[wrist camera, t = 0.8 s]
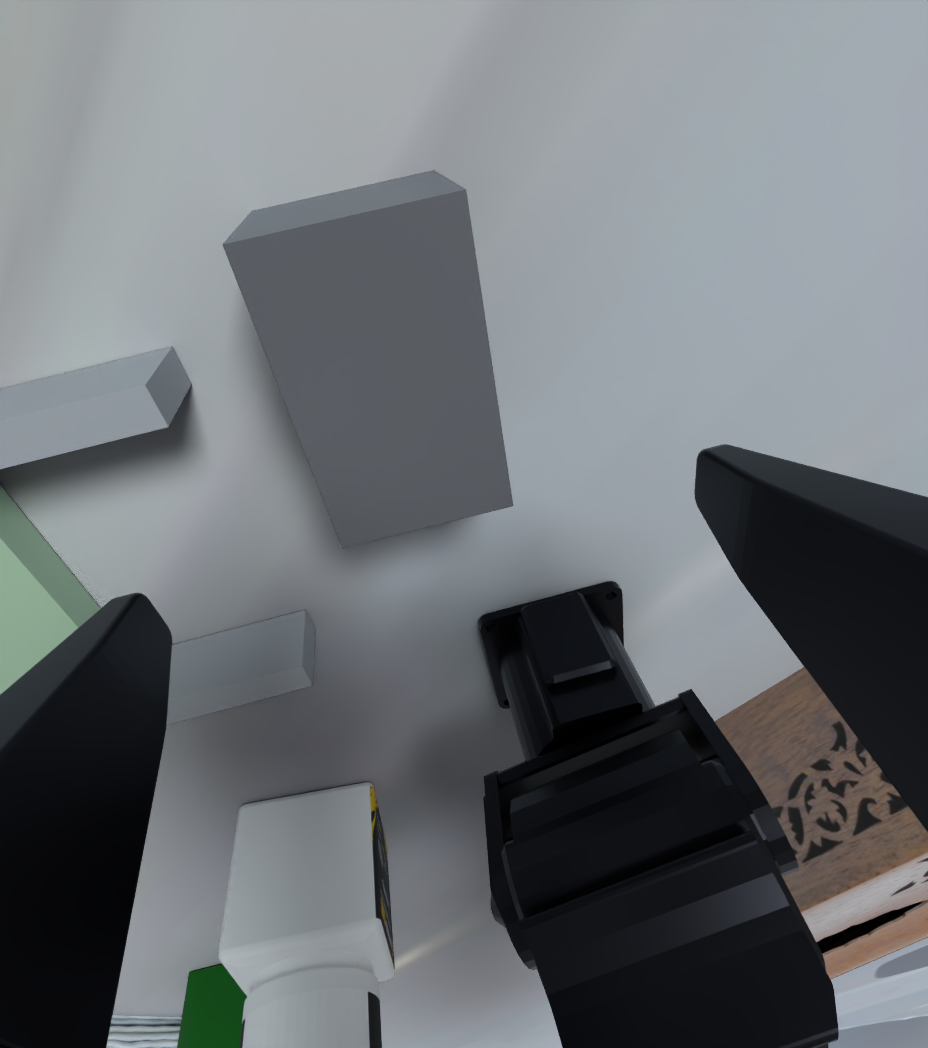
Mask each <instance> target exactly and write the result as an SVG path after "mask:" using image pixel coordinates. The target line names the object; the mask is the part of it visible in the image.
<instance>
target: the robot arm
mask: <svg viewBox="0 0 928 1048" xmlns="http://www.w3.org/2000/svg"><path fill="white" fill-rule="evenodd" d="M695 500H696V504H697V506H698V508H699V510H700V512H701V514H702V515H703V517H704V519H705V520H706V522H707V524H708V526H709V527H710V529H711V531H712V533H713V534H714V536H715V538H716V540H717V541H718V543H719V545H720V547H721V548H722V550H723V552H724V554H725V555H726V557H727V559H728V561H729V562H730V564H731V566H732V568H733V569H734V571H735V572H736V574H737V576H738V577H739V579H740V580H741V582H742V583H743V585H744V586H745V587H746V589H747V590H748V592H749V593H750V594H751V596H752V597H753V598H754V600H755V601H756V602H757V604H758V605H759V606H760V608H761V609H762V610H763V612H764V613H765V614H766V616H767V617H768V618H769V620H770V621H771V622H772V624H773V625H774V626H775V628H776V629H777V631H778V632H779V633H780V635H781V636H782V637H783V639H784V640H785V641H786V643H787V644H788V645H789V647H790V648H791V649H792V651H793V652H794V653H795V655H796V656H797V657H798V659H799V660H800V661H801V663H802V664H803V665H804V667H805V668H806V669H807V671H808V672H809V673H810V675H811V676H812V678H813V679H814V680H815V682H816V683H817V684H818V686H819V687H820V688H821V690H822V691H823V692H824V694H825V695H826V696H827V698H828V699H829V700H830V702H831V703H832V704H833V706H834V707H835V708H836V710H837V711H838V712H839V714H840V715H841V716H842V718H843V719H844V721H845V722H846V723H847V725H848V726H849V727H850V729H851V730H852V731H853V733H854V734H855V735H856V737H857V738H858V739H859V741H860V742H861V743H862V745H863V746H864V747H865V749H866V750H867V751H868V753H869V754H870V755H871V757H872V758H873V759H874V761H875V762H876V763H877V765H878V766H879V768H880V769H881V770H882V772H883V773H884V774H885V776H886V777H887V778H888V780H889V781H890V782H891V784H892V785H893V786H894V788H895V789H896V790H897V792H898V793H899V794H900V796H901V797H902V798H903V800H904V801H905V802H906V804H907V805H908V806H909V808H910V809H911V810H912V812H913V813H914V815H915V816H916V817H917V819H918V820H919V821H920V823H921V824H922V825H923V827H924V828H925V829H926V831H927V832H928V497H925V496H921V495H918V494H914V493H910V492H906V491H902V490H898V489H895V488H891V487H887V486H883V485H879V484H876V483H872V482H868V481H864V480H860V479H857V478H853V477H849V476H845V475H841V474H838V473H834V472H830V471H826V470H822V469H819V468H815V467H811V466H807V465H803V464H799V463H796V462H792V461H788V460H784V459H780V458H777V457H773V456H769V455H765V454H761V453H758V452H754V451H750V450H746V449H742V448H739V447H735V446H731V445H727V444H724V445H719V446H715V447H711V448H707V449H703V450H702V451H701V452H700V453H699V454H698V457H697V464H696V478H695ZM609 592H611V593H609ZM608 593H609V594H608ZM489 624H492V625H489ZM479 627H480V631H481V635H482V639H483V643H484V647H485V651H486V655H487V659H488V663H489V667H490V671H491V675H492V679H493V683H494V687H495V691H496V695H497V699H498V703H499V705H500V707H502V708H506V709H507V708H510V709H511V712H512V716H513V719H514V723H515V726H516V730H517V733H518V736H519V740H520V743H521V747H522V750H523V754H524V757H525V762H523V763H520V764H518V765H516V766H513V767H511V768H508V769H506V770H504V771H501V772H499V773H498V772H497V771H495V772H493V773H490V774H488V775H486V776H484V785H485V796H484V812H485V824H486V837H487V850H488V862H489V875H490V887H491V910H492V914H493V916H494V919H495V920H496V921H497V922H498V923H500V924H501V925H503V926H504V927H506V929H507V931H508V934H509V936H510V939H511V941H512V943H513V945H514V947H515V949H516V951H517V953H518V955H519V957H520V958H521V960H522V961H523V963H524V964H525V965H526V966H527V967H528V968H529V969H532V970H535V969H537V970H538V973H539V976H540V978H541V981H542V984H543V986H544V989H545V992H546V995H547V997H548V1000H549V1003H550V1006H551V1009H552V1012H553V1016H554V1019H555V1022H556V1026H557V1029H558V1033H559V1036H560V1040H561V1043H562V1047H563V1048H828V1043H830V1042H833V1041H836V1040H838V1022H837V1013H836V1005H835V996H834V989H833V985H832V982H831V980H830V978H829V976H828V974H827V972H826V966H825V960H824V958H823V955H822V953H821V950H820V948H819V946H818V944H817V942H816V940H815V939H814V937H813V935H812V933H811V931H810V929H809V927H808V925H807V923H806V921H805V919H804V917H803V916H802V914H801V912H800V910H799V908H798V906H797V904H796V902H795V900H794V898H793V896H792V895H791V893H790V891H789V889H788V887H787V885H786V883H785V881H784V879H783V877H782V876H785V875H787V874H790V873H793V872H795V871H798V870H799V866H798V862H797V859H796V857H795V854H794V852H793V849H792V847H791V845H790V843H789V841H788V839H787V837H786V834H785V833H784V831H783V829H782V827H781V825H780V823H779V821H778V819H777V817H776V815H775V814H774V812H773V810H772V808H771V806H770V804H769V803H768V801H767V799H766V798H765V796H764V794H763V792H762V791H761V789H760V787H759V786H758V784H757V783H756V781H755V779H754V778H753V776H752V775H751V773H750V772H749V770H748V769H747V767H746V766H745V764H744V763H743V761H742V760H741V759H740V757H739V756H738V754H737V753H736V751H735V750H734V749H733V747H732V746H731V744H730V743H729V742H728V740H727V739H726V737H725V736H724V734H723V733H722V732H721V730H720V729H719V727H718V726H717V725H716V723H715V722H714V720H713V719H712V717H711V716H710V715H709V713H708V712H707V710H706V709H705V708H704V706H703V705H702V703H701V702H700V700H699V699H698V698H697V696H696V695H695V693H694V692H693V691H692V689H690V690H687V691H685V692H682V693H680V694H678V697H677V698H675V699H672V700H670V701H668V702H665V703H663V704H660V705H658V706H655V704H654V703H653V701H652V699H651V697H650V695H649V693H648V691H647V689H646V688H645V686H644V684H643V682H642V680H641V678H640V676H639V674H638V673H637V671H636V669H635V667H634V665H633V663H632V661H631V660H630V658H629V656H628V654H627V652H626V650H625V648H624V639H623V602H622V590H621V589H620V587H619V585H618V584H617V583H616V582H613V581H610V582H605V583H601V584H597V585H594V586H590V587H586V588H582V589H578V590H575V591H571V592H567V593H563V594H560V595H556V596H552V597H548V598H545V599H541V600H537V601H533V602H530V603H526V604H522V605H518V606H515V607H511V608H507V609H503V610H500V611H496V612H492V613H488V614H486V615H484V616H482V617H481V618H480V620H479ZM171 654H172V636H171V632H170V630H169V628H168V626H167V624H166V623H165V622H164V620H163V619H162V617H161V616H160V615H159V613H158V612H157V610H156V609H155V607H154V606H153V605H152V603H151V602H150V600H149V599H148V598H147V597H146V596H145V595H143V594H141V593H133V594H129V595H125V596H121V597H117V598H114V599H112V600H111V601H109V602H108V603H107V604H106V605H105V606H103V607H102V608H101V609H100V610H99V611H97V612H96V613H95V614H94V615H93V616H92V617H90V618H89V619H88V620H87V621H86V622H85V623H83V624H82V625H81V626H80V627H79V628H78V629H76V630H75V631H74V632H73V633H72V634H71V635H69V636H68V637H67V638H66V639H65V640H64V641H62V642H61V643H60V644H59V645H58V646H57V647H55V648H54V649H53V650H52V651H51V652H50V653H48V654H47V655H46V656H45V657H44V658H42V659H41V660H40V661H39V662H38V663H37V664H35V665H34V666H33V667H32V668H31V669H30V670H28V671H27V672H26V673H25V674H24V675H23V676H21V677H20V678H19V679H18V680H17V681H16V682H14V683H13V684H12V685H11V686H10V687H9V688H7V689H6V690H5V691H4V692H3V693H2V694H0V1048H106V1047H107V1042H108V1036H109V1031H110V1026H111V1020H112V1015H113V1010H114V1004H115V999H116V994H117V988H118V983H119V978H120V972H121V967H122V962H123V957H124V951H125V946H126V941H127V935H128V930H129V925H130V919H131V914H132V909H133V903H134V898H135V893H136V887H137V882H138V877H139V871H140V866H141V861H142V855H143V850H144V845H145V840H146V834H147V829H148V824H149V818H150V813H151V808H152V802H153V797H154V792H155V786H156V781H157V776H158V770H159V765H160V760H161V754H162V749H163V744H164V737H165V731H166V723H167V714H168V699H169V684H170V669H171Z"/></svg>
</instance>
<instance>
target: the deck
mask: <svg viewBox="0 0 928 1048" xmlns="http://www.w3.org/2000/svg"><path fill="white" fill-rule="evenodd" d="M190 386H191V382H190V380H189V378H188V376H187V374H186V372H185V370H184V368H183V366H182V364H181V362H180V360H179V358H178V356H177V354H176V352H175V350H174V348H173V346H172V347H168V348H164V349H160V350H156V351H152V352H148V353H144V354H140V355H136V356H132V357H128V358H123V359H119V360H115V361H111V362H107V363H103V364H99V365H95V366H91V367H87V368H83V369H79V370H75V371H71V372H67V373H63V374H59V375H55V376H51V377H46V378H42V379H38V380H34V381H30V382H26V383H22V384H18V385H14V386H10V387H6V388H2V389H0V469H3V468H7V467H11V466H15V465H19V464H23V463H27V462H31V461H35V460H39V459H43V458H47V457H51V456H55V455H59V454H63V453H67V452H71V451H75V450H79V449H83V448H87V447H91V446H95V445H99V444H103V443H107V442H111V441H115V440H119V439H123V438H127V437H131V436H135V435H139V434H143V433H147V432H151V431H155V430H159V429H163V428H167V427H169V425H170V423H171V421H172V420H173V418H174V416H175V414H176V412H177V410H178V408H179V407H180V405H181V403H182V401H183V399H184V397H185V396H186V394H187V392H188V390H189V388H190ZM100 609H101V608H100V607H99V606H98V604H97V603H96V602H95V601H94V600H93V598H92V597H91V596H90V595H89V593H88V592H87V591H86V590H85V588H84V587H83V586H82V585H81V584H80V582H79V581H78V580H77V579H76V577H75V576H74V575H73V574H72V572H71V571H70V570H69V569H68V568H67V566H66V565H65V564H64V563H63V561H62V560H61V559H60V558H59V556H58V555H57V554H56V553H55V552H54V550H53V549H52V548H51V547H50V545H49V544H48V543H47V542H46V541H45V539H44V538H43V537H42V536H41V534H40V533H39V532H38V531H37V529H36V528H35V527H34V526H33V525H32V523H31V522H30V521H29V520H28V518H27V517H26V516H25V515H24V513H23V512H22V511H21V510H20V509H19V507H18V506H17V505H16V504H15V502H14V501H13V500H12V499H11V497H10V496H9V495H8V494H7V493H6V491H5V490H4V489H3V488H2V486H1V485H0V694H2V693H3V692H4V691H5V690H6V689H7V688H9V687H10V686H11V685H12V684H13V683H14V682H16V681H17V680H18V679H19V678H20V677H21V676H23V675H24V674H25V673H26V672H27V671H28V670H30V669H31V668H32V667H33V666H34V665H35V664H37V663H38V662H39V661H40V660H41V659H42V658H44V657H45V656H46V655H47V654H48V653H50V652H51V651H52V650H53V649H54V648H55V647H57V646H58V645H59V644H60V643H61V642H62V641H64V640H65V639H66V638H67V637H68V636H69V635H71V634H72V633H73V632H74V631H75V630H76V629H78V628H79V627H80V626H81V625H82V624H83V623H85V622H86V621H87V620H88V619H89V618H90V617H92V616H93V615H94V614H95V613H96V612H97V611H99V610H100ZM315 630H316V629H315V627H314V625H313V623H312V621H311V619H310V617H309V615H308V613H307V611H306V610H302V611H299V612H295V613H291V614H287V615H283V616H280V617H276V618H272V619H268V620H264V621H261V622H257V623H253V624H249V625H245V626H242V627H238V628H234V629H230V630H227V631H223V632H219V633H215V634H211V635H208V636H204V637H200V638H196V639H192V640H189V641H185V642H181V643H177V644H173V645H172V654H171V669H170V684H169V699H168V714H167V723H166V725H169V724H173V723H176V722H180V721H184V720H187V719H191V718H195V717H199V716H202V715H206V714H210V713H214V712H217V711H221V710H225V709H229V708H232V707H236V706H240V705H243V704H247V703H251V702H255V701H258V700H262V699H266V698H270V697H273V696H277V695H281V694H285V693H288V692H292V691H296V690H300V689H303V688H307V687H311V686H313V675H314V653H315Z"/></svg>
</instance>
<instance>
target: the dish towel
mask: <svg viewBox="0 0 928 1048" xmlns="http://www.w3.org/2000/svg"><path fill="white" fill-rule="evenodd" d="M181 1020H182V1017H147V1016H112V1020H111V1026H110V1031H109V1036H108V1042H107V1047H106V1048H177V1045H178V1038H179V1032H180V1026H181Z"/></svg>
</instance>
